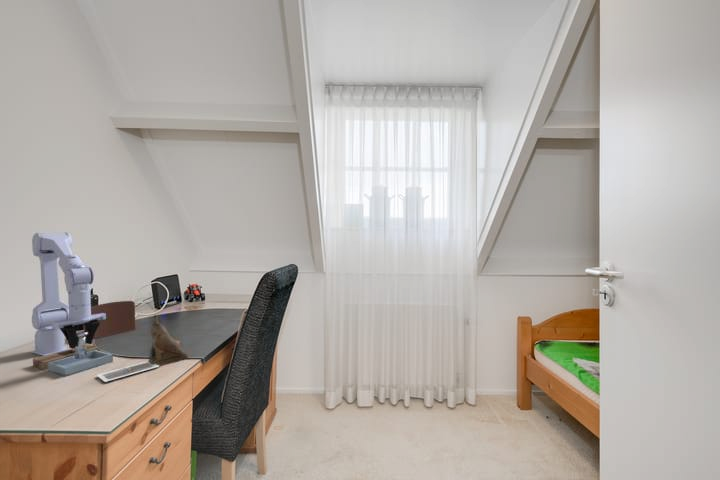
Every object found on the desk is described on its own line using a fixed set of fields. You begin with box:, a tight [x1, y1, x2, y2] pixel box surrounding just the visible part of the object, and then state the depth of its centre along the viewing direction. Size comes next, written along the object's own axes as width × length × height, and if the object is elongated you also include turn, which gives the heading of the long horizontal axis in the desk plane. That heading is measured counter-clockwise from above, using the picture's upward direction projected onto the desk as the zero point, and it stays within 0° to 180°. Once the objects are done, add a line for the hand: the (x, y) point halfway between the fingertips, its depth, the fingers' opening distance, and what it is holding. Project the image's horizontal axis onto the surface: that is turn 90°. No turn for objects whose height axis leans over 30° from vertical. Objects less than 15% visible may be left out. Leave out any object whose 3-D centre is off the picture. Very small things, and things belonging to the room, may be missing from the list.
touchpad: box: [96, 360, 160, 383], centre depth 111 cm, size 8×15×2 cm, turn 142°
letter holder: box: [73, 300, 136, 340], centre depth 153 cm, size 10×20×14 cm, turn 149°
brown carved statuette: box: [148, 314, 189, 366], centre depth 120 cm, size 12×6×18 cm, turn 126°
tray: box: [47, 350, 114, 377], centre depth 116 cm, size 11×14×2 cm
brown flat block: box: [32, 344, 101, 371], centre depth 122 cm, size 8×16×2 cm, turn 154°
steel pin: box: [75, 330, 89, 359], centre depth 116 cm, size 4×4×8 cm
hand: (80, 345), depth 116 cm, fingers closed on steel pin, 4 cm apart
